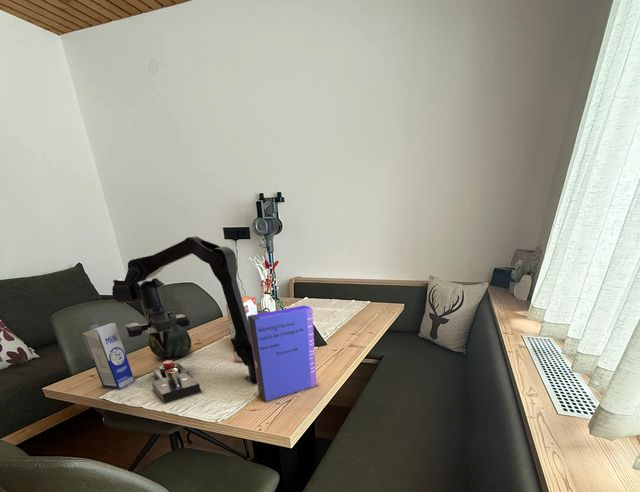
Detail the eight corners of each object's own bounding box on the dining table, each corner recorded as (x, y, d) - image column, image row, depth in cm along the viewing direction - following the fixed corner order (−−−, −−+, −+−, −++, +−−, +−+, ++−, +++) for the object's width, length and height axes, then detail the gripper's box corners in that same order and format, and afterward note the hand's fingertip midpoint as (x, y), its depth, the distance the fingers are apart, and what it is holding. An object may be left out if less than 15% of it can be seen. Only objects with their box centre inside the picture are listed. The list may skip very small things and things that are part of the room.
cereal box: (308, 380, 115) (303, 304, 103) (316, 385, 112) (312, 307, 100) (259, 395, 107) (247, 315, 95) (266, 401, 104) (254, 318, 92)
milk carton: (119, 389, 115) (96, 328, 104) (102, 387, 116) (79, 327, 106) (135, 380, 120) (115, 321, 110) (119, 379, 122) (98, 320, 112)
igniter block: (190, 377, 121) (187, 366, 119) (162, 385, 116) (159, 373, 114) (180, 369, 128) (177, 358, 126) (154, 376, 123) (151, 365, 121)
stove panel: (201, 392, 111) (198, 383, 109) (164, 403, 105) (162, 393, 103) (187, 380, 119) (185, 371, 117) (153, 390, 113) (150, 381, 112)
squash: (142, 341, 140) (143, 316, 128) (180, 334, 149) (184, 310, 137) (157, 371, 138) (160, 348, 126) (194, 362, 146) (200, 340, 134)
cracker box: (249, 362, 131) (240, 304, 120) (234, 362, 132) (224, 304, 122) (263, 349, 143) (256, 295, 132) (248, 349, 144) (240, 295, 133)
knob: (178, 379, 113) (175, 366, 110) (182, 382, 110) (178, 369, 108) (166, 382, 111) (163, 369, 109) (170, 386, 108) (166, 372, 106)
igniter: (175, 367, 120) (174, 362, 119) (165, 369, 118) (164, 364, 118) (172, 364, 122) (171, 359, 121) (163, 366, 121) (161, 361, 120)
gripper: (124, 312, 99) (141, 365, 107) (190, 301, 109) (201, 350, 117) (116, 306, 107) (132, 355, 115) (178, 296, 117) (189, 342, 125)
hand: (164, 350), depth 118 cm, fingers closed
